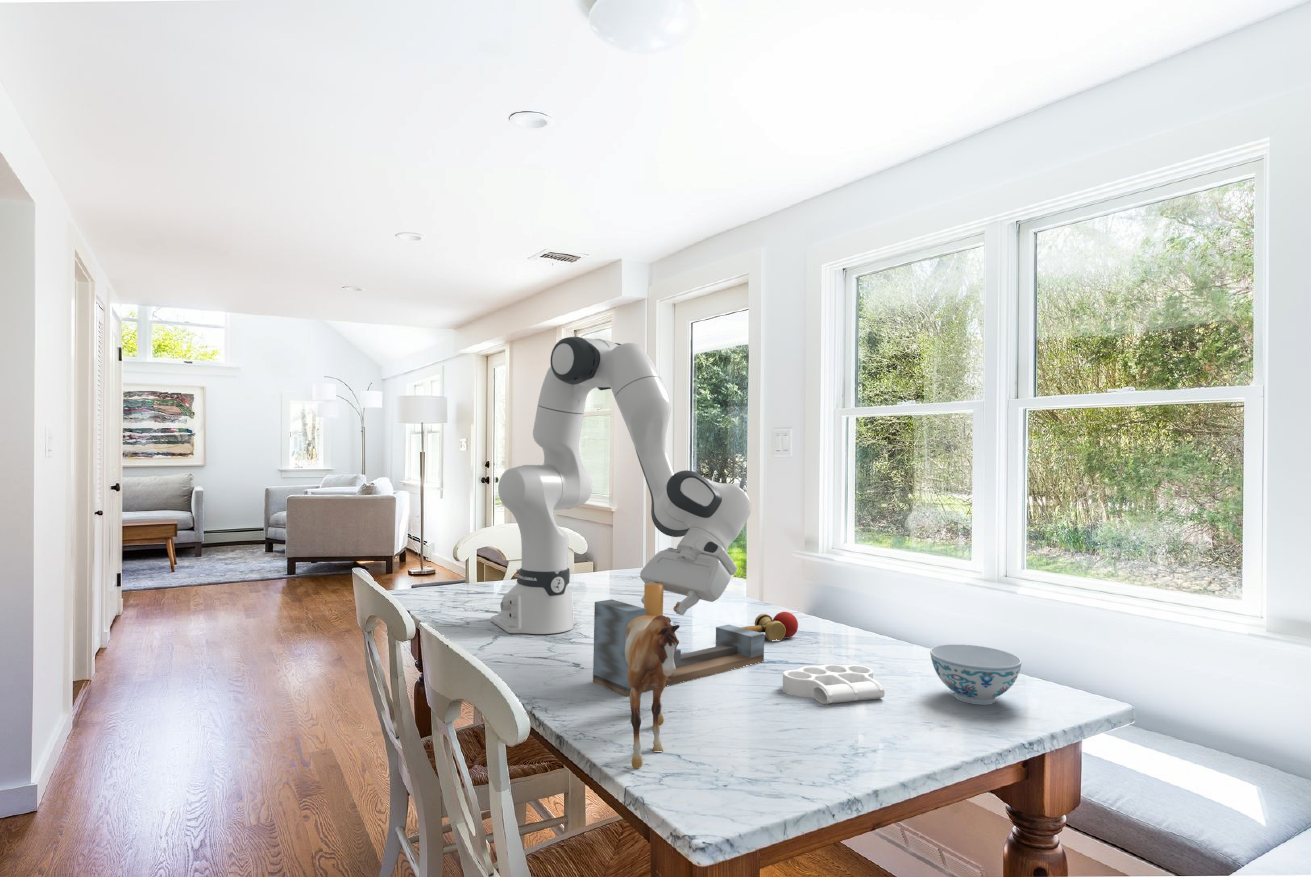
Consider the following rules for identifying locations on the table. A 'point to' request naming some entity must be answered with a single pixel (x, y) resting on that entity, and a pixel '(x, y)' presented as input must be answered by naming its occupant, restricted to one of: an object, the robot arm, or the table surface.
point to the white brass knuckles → (833, 683)
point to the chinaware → (975, 671)
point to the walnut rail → (728, 654)
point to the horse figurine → (649, 670)
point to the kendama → (775, 625)
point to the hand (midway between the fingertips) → (660, 608)
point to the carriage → (656, 606)
